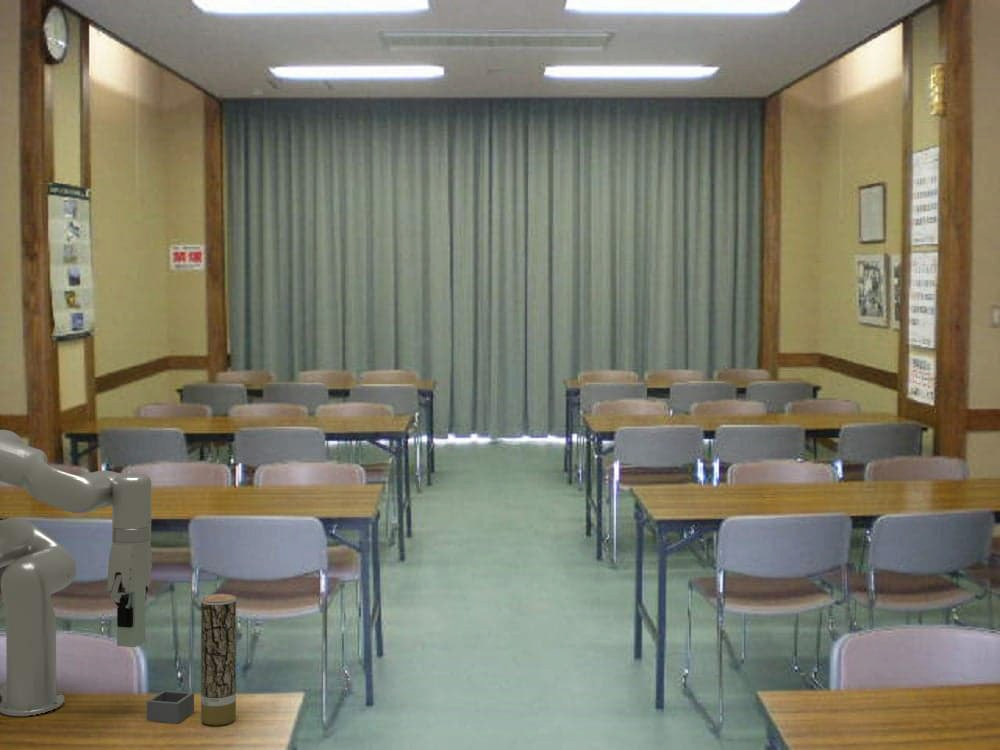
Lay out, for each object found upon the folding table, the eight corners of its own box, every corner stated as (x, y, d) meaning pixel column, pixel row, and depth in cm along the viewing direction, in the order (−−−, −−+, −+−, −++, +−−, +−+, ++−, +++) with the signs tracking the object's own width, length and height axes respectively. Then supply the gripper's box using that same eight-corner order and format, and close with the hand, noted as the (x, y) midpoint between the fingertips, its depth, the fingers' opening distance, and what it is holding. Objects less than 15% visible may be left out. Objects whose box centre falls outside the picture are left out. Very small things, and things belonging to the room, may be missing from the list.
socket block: (146, 720, 222) (146, 701, 222) (163, 709, 229) (163, 690, 229) (177, 723, 221) (177, 704, 221) (193, 712, 228) (193, 692, 228)
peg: (117, 645, 225) (117, 587, 224) (127, 640, 228) (127, 582, 228) (135, 647, 224) (135, 588, 223) (145, 641, 228) (145, 584, 227)
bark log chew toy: (226, 728, 219) (227, 603, 218) (195, 725, 220) (195, 601, 219) (241, 716, 226) (241, 595, 224) (210, 713, 227) (210, 593, 226)
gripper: (136, 526, 234) (135, 612, 235) (91, 541, 218) (91, 633, 219) (169, 528, 233) (168, 614, 233) (126, 543, 216) (126, 636, 217)
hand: (131, 622), depth 226 cm, fingers closed on peg, 4 cm apart
